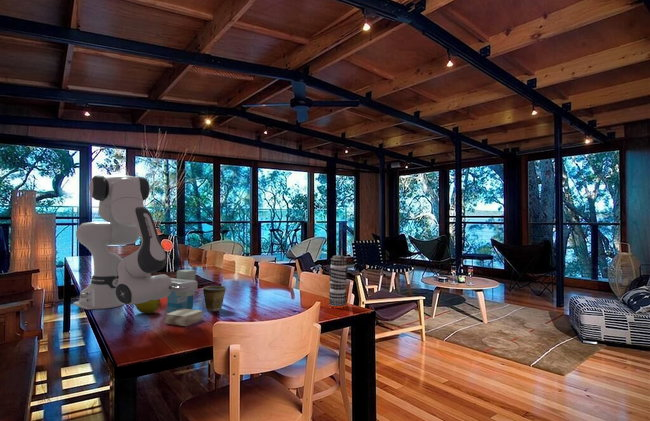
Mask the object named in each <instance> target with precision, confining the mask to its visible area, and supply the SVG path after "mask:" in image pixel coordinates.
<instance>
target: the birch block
mask: <svg viewBox="0 0 650 421" xmlns="http://www.w3.org/2000/svg"><path fill="white" fill-rule="evenodd" d="M203 313H204V311H203V310H199V309H193V308H192V309H184V308H183V309H180V310H177V311H173V312H170V313H165V324H167V325H176V326H183V327H188V326H191V325H192V324H193V325H194V324H195V323H198V322H200V321H203V318H204V317H203V316H204V314H203Z"/></svg>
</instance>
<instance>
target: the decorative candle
mask: <svg viewBox="0 0 650 421" xmlns="http://www.w3.org/2000/svg"><path fill="white" fill-rule="evenodd" d="M347 259H348V258H346V257H345V255H338V254H337V255H336V254H335V255H333V256H332V257H331V258H330V260H331V261H330V266H329V267H328V268H329V271H328V273H329V278H328V280H329V284H330V288H329V292H328V293H329V295H328V297H329V299H328V301H329V302H328V305H331V306H344V305H346V306H347V299H346V298H347V291H346V290H347V289H346V284H347V283H348V282H347V280H348V274H347V273H348V271H347V270H348V267H347Z"/></svg>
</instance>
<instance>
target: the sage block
mask: <svg viewBox="0 0 650 421" xmlns="http://www.w3.org/2000/svg"><path fill="white" fill-rule="evenodd" d="M176 279H185V280H195V281H196V269H181V270H176ZM195 292H196V290H195V291H190V292H176V296H181V297H188V296H192V295H193V296H195V294H196V293H195Z"/></svg>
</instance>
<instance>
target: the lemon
mask: <svg viewBox="0 0 650 421" xmlns="http://www.w3.org/2000/svg"><path fill="white" fill-rule="evenodd" d="M133 305H134V306H135V307H136V309H137V311H138V312H140V313H143V314H152V313H155V312H157V310H158V309H159V307H160V299H157V300H149V301H148V302H144V303H140V304H133Z"/></svg>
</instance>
